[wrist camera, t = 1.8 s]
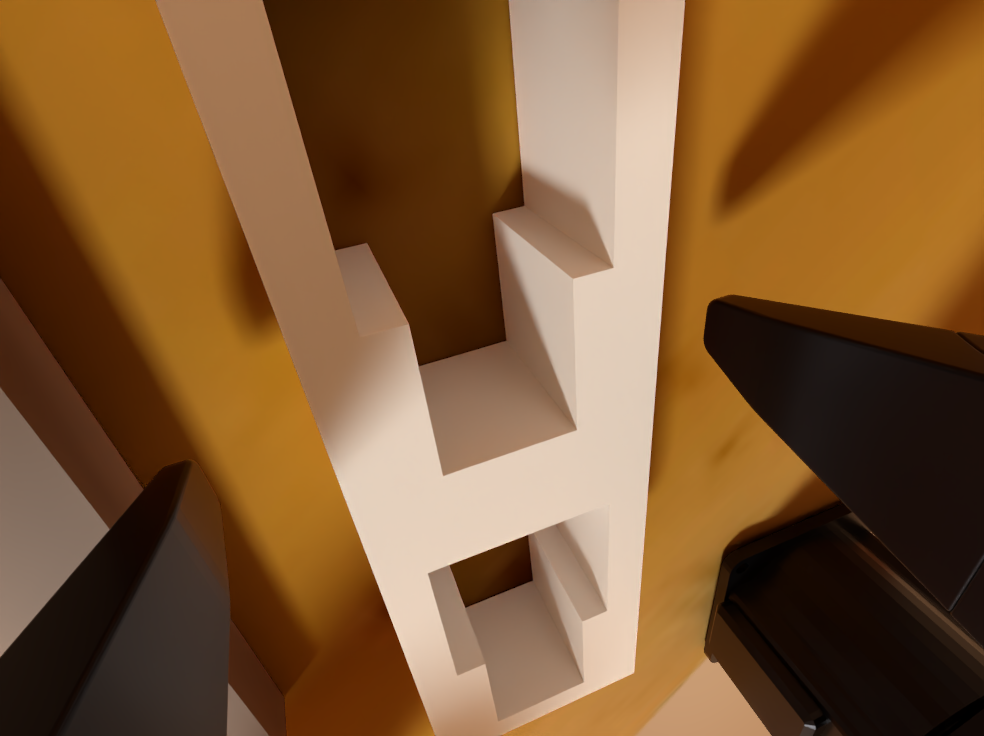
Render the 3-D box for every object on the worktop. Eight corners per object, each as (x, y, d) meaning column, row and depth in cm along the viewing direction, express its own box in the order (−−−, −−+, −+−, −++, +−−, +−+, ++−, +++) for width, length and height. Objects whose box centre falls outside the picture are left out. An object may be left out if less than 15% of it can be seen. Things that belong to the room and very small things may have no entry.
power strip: (545, -412, 6) (784, -757, 3) (577, 577, 16) (642, 688, 14) (32, -436, 5) (-233, -986, 2) (414, 644, 15) (449, 780, 12)
